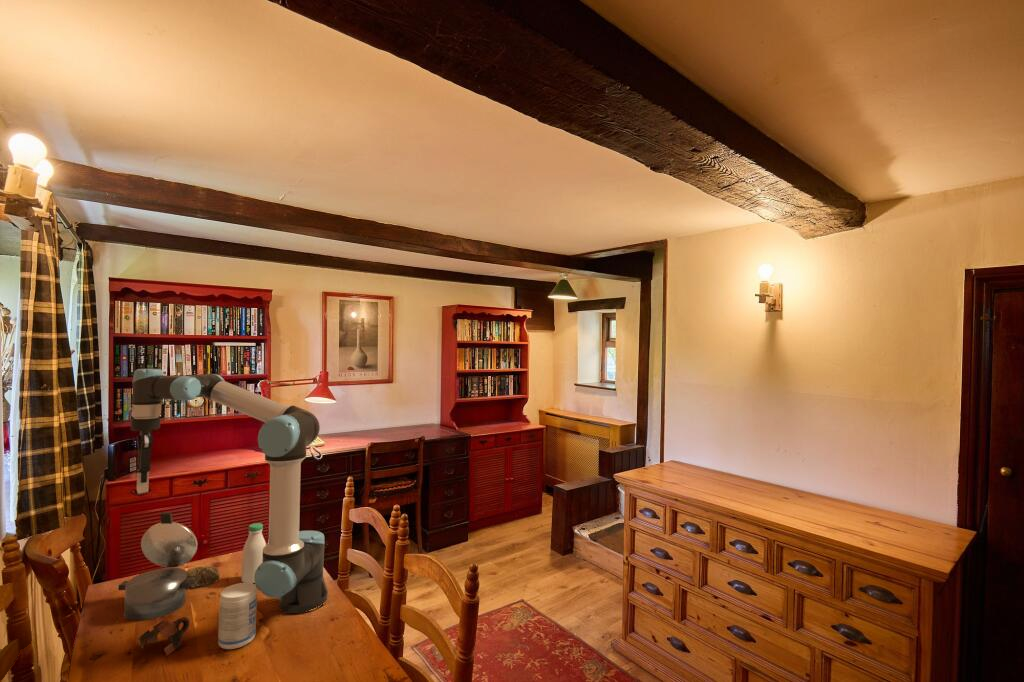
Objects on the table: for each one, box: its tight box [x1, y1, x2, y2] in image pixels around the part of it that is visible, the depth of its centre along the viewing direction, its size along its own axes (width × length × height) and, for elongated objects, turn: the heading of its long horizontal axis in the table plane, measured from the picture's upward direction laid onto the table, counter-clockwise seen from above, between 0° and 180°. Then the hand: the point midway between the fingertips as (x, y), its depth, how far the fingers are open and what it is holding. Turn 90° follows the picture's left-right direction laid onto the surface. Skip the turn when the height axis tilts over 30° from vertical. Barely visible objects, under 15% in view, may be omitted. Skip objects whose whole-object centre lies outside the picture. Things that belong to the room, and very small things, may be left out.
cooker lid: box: [140, 512, 198, 568], centre depth 162 cm, size 20×17×1 cm
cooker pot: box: [117, 567, 194, 622], centre depth 156 cm, size 17×21×9 cm
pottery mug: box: [138, 616, 190, 656], centre depth 136 cm, size 12×9×8 cm
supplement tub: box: [217, 582, 258, 650], centre depth 139 cm, size 10×10×15 cm
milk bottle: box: [241, 522, 267, 583], centre depth 176 cm, size 8×8×20 cm
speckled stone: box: [185, 565, 220, 590], centre depth 174 cm, size 13×12×5 cm
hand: (142, 491), depth 152 cm, fingers open, 3 cm apart
